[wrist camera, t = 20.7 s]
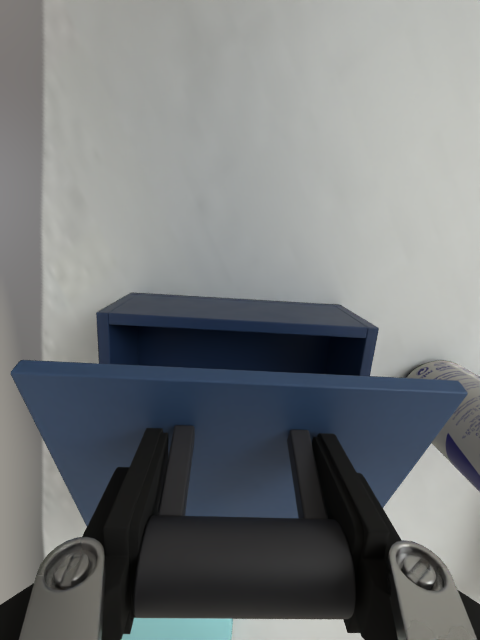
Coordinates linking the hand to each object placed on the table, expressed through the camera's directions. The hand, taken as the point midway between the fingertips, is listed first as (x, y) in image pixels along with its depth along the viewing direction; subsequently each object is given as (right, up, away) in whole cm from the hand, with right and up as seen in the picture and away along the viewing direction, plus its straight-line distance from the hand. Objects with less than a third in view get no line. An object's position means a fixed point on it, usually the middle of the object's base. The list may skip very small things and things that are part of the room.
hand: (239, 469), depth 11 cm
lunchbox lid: (0, -3, +4) cm, 5 cm away
